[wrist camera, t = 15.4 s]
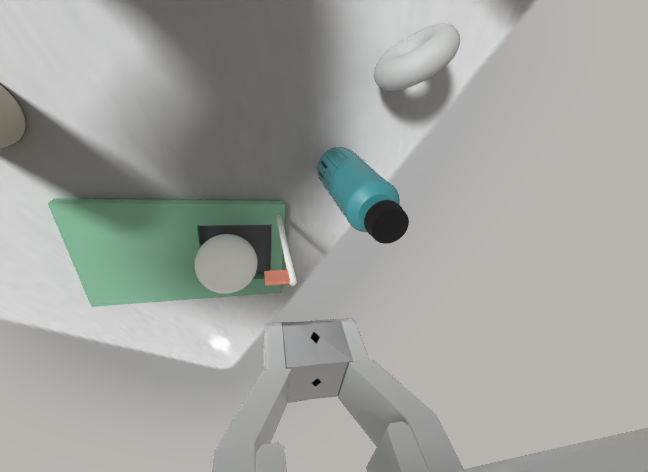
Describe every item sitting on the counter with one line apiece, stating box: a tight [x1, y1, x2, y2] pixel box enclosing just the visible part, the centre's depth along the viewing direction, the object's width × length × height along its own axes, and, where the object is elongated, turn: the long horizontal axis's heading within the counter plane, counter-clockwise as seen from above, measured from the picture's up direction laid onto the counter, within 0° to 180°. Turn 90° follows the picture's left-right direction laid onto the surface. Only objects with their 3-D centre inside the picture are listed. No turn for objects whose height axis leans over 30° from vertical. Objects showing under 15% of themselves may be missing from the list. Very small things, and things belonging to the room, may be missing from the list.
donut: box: [374, 24, 460, 91], centre depth 33 cm, size 10×4×10 cm, turn 121°
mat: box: [48, 199, 297, 307], centre depth 38 cm, size 30×18×18 cm, turn 84°
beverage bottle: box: [317, 147, 409, 243], centre depth 35 cm, size 6×7×20 cm
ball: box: [195, 234, 257, 294], centre depth 42 cm, size 9×9×9 cm
